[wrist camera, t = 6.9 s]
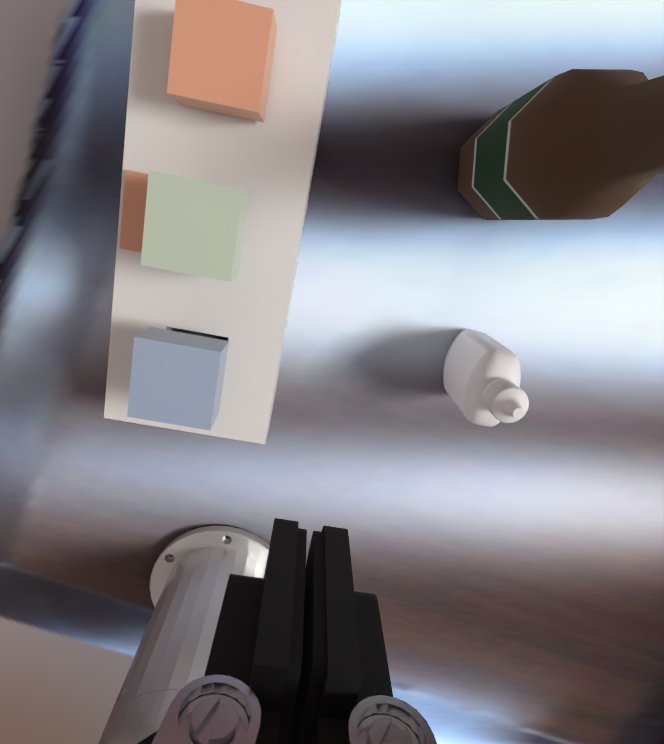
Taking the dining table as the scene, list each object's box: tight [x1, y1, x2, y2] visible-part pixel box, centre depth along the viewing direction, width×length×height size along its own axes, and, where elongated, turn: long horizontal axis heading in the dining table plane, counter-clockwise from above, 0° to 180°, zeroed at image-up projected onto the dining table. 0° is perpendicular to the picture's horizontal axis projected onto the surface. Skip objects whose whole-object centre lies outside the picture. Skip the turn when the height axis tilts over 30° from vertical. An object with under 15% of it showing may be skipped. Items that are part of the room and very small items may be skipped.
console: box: [104, 0, 341, 444], centre depth 36 cm, size 30×12×5 cm, turn 169°
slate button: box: [127, 327, 229, 430], centre depth 35 cm, size 5×5×8 cm
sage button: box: [141, 170, 250, 282], centre depth 33 cm, size 5×5×8 cm
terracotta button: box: [167, 0, 277, 122], centre depth 32 cm, size 5×5×8 cm
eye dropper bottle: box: [443, 329, 529, 426], centre depth 37 cm, size 4×6×12 cm
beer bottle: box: [457, 69, 664, 220], centre depth 27 cm, size 8×8×24 cm
